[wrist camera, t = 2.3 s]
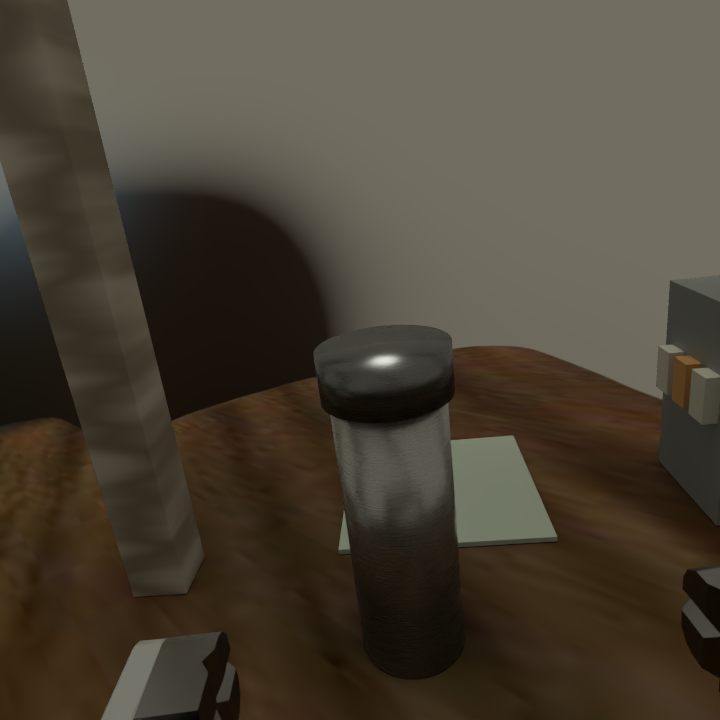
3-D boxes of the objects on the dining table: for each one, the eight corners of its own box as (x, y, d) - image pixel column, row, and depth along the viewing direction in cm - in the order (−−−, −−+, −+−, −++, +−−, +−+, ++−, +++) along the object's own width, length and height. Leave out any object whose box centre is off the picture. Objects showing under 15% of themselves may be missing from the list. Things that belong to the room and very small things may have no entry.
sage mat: (339, 554, 32) (338, 549, 32) (353, 451, 43) (353, 448, 43) (557, 541, 31) (557, 536, 31) (513, 439, 42) (513, 435, 42)
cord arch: (133, 596, 30) (-132, -271, 19) (155, 559, 33) (-63, -214, 22) (848, 557, 27) (1060, -524, 16) (805, 520, 30) (958, -419, 18)
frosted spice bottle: (353, 687, 24) (303, 375, 19) (360, 596, 28) (322, 331, 24) (479, 682, 23) (459, 361, 19) (464, 591, 28) (445, 319, 23)
